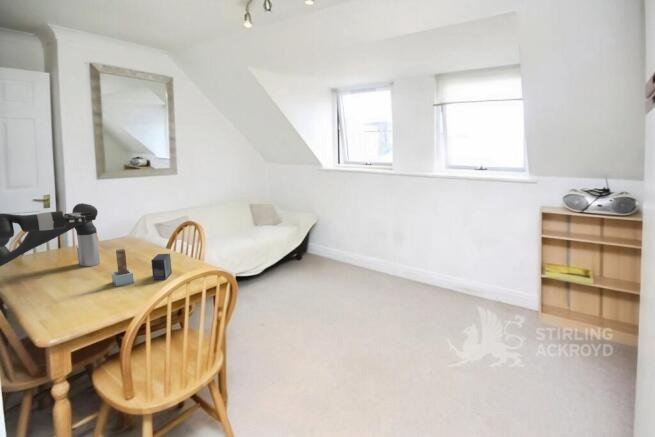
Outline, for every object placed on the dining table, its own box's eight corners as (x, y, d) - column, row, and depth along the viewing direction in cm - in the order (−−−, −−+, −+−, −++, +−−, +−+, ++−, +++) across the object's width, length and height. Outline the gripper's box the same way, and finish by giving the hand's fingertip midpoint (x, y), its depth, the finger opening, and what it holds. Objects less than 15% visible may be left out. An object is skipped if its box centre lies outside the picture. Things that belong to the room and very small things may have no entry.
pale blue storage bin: (116, 286, 186) (115, 276, 185) (112, 282, 192) (111, 272, 191) (133, 283, 191) (132, 273, 190) (129, 278, 197) (128, 269, 196)
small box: (159, 273, 205) (157, 253, 203) (172, 272, 206) (170, 253, 204) (152, 280, 195) (150, 259, 193) (166, 280, 196) (164, 259, 194)
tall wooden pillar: (120, 282, 189) (117, 251, 186) (119, 280, 191) (115, 250, 188) (128, 280, 191) (125, 250, 188) (126, 278, 193) (123, 248, 190)
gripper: (50, 226, 179) (91, 221, 189) (54, 232, 168) (97, 226, 178) (47, 209, 177) (89, 205, 187) (51, 214, 167) (95, 209, 177)
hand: (93, 215), depth 183 cm, fingers open, 8 cm apart
